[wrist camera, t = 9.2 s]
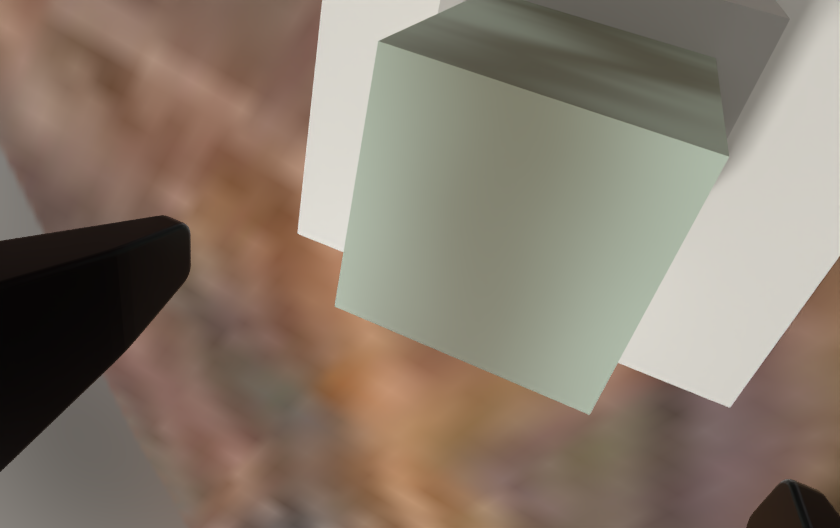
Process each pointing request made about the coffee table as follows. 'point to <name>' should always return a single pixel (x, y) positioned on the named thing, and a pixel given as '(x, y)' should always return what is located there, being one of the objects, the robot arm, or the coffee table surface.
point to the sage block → (527, 188)
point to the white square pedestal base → (727, 201)
